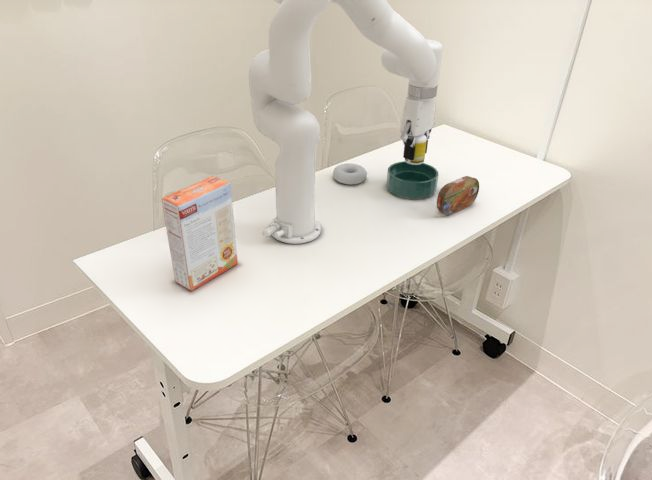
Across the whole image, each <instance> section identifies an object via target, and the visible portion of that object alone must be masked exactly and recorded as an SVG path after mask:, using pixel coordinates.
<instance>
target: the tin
mask: <svg viewBox="0 0 652 480" xmlns="http://www.w3.org/2000/svg"><path fill="white" fill-rule="evenodd" d="M479 191H480V182H479V180H478V178H475V177H472V176H469V175H464V176H462V177H459V178H457V179H455V180H453V181H450V182H447V183H446V184H444V185H443V186H442V187H441V188H440V190H439V191H438V194H437V198H436V209H437V210H438V211H439V212H440V213H442V214H444V215H446V216H452V215H454V214H456V213H458V212H460V211H462V210H465V209H466V208H468V207H470V206H472V205H473V204H474V203H475V201H476V199H477V198H478V195H479Z"/></svg>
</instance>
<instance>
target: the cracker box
mask: <svg viewBox="0 0 652 480" xmlns="http://www.w3.org/2000/svg"><path fill="white" fill-rule="evenodd" d="M161 206H162V212H163V217H164V223H165V229H166V235H167V240H168V247H169V253H170V257H171V259H170V260H171V264H172V265H171V266H172V270H173V276H174V281H175V283H177V284H178V285H181V287H183V288H185V289H187V290H189V291H190V292H193V291H194V290H197V289H198V288H199V287H201V286H203V285H204V284H206V283H208V282H210V281H211V280H213V279H215V278H216V277H218V276H220V275H221V274H223V273H225V272H226V271H228V270H230V269H231V268H233V267H236V266H237V265H238V254H237V253H238V251H237V240H236V231H235V219H234V209H233V196H232V185H231V182H230V181H227V180H224V179H222V178H219V177H217V176H215V175H212V176H209V177H207V178H204V179H202V180H200V181H198V182H196V183H193V184H191V185H189V186H186V187H184V188H182V189H179V190H177V191H175V192H172V193H170V194H168V195H166V196H163V197H162V198H161Z"/></svg>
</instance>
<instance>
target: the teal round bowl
mask: <svg viewBox="0 0 652 480" xmlns="http://www.w3.org/2000/svg"><path fill="white" fill-rule="evenodd" d="M386 174H387V175H386V189H387V191H388V192H390V193H391V194H392V195H395V196H398V197H401V198H405V199H413V200H416V199H417V200H418V199H425V198H429V197H432V196H433V195H435V193H436V192H437V188H438V180H439V171H438V170H437V168H435V167H434V166H433V165H430V164H427V163H425V162H423V163H422V164H420V165H411V164H408V163H406V162H405V160H404V161H398V162H394V163H392V164H390V165H389V166H388V168H387V173H386Z"/></svg>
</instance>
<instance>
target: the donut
mask: <svg viewBox="0 0 652 480" xmlns="http://www.w3.org/2000/svg"><path fill="white" fill-rule="evenodd" d="M367 175H368V173H367V170H366V168H365V167H364V166H362V165H360V164H358V163H351V162H350V163H349V162H348V163H347V162H346V163H341V164H338V165H336V167H335V168H334V169H333V172H332V176H333V178H334V179H335V181H336V182H338V183H340V184H343V185H358V184H360V183H362V182H364V181H366V179H367Z"/></svg>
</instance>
